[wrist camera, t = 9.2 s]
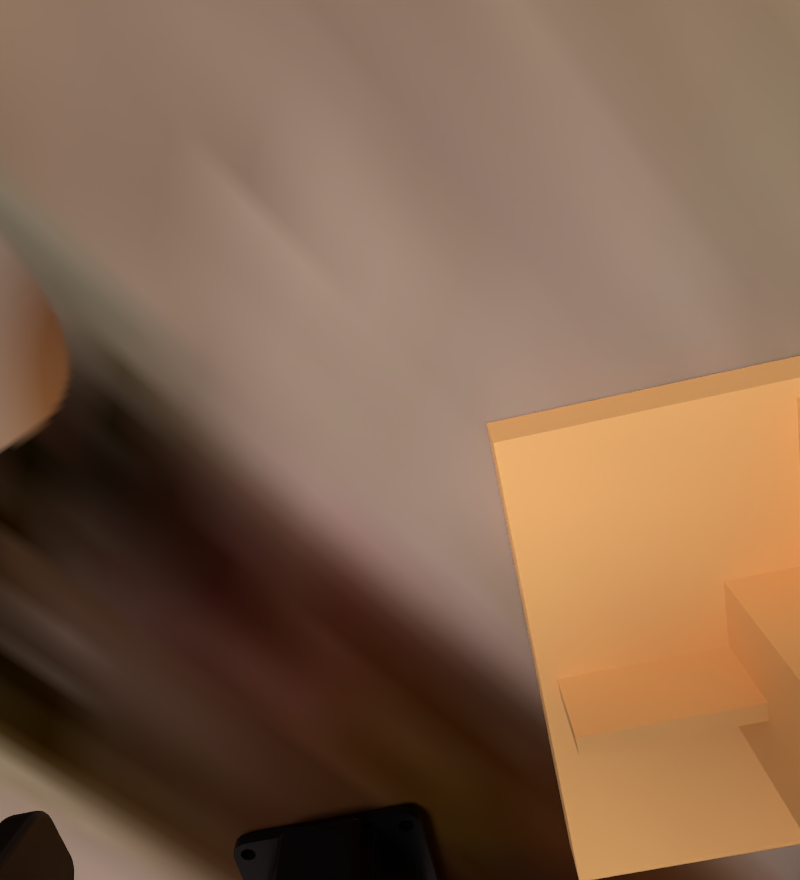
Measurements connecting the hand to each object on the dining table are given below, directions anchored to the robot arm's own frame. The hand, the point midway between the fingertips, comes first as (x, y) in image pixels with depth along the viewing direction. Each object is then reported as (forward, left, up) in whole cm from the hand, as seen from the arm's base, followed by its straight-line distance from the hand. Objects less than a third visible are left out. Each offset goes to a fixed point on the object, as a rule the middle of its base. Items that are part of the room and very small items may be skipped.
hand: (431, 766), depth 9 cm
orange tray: (-9, -10, -13) cm, 19 cm away
